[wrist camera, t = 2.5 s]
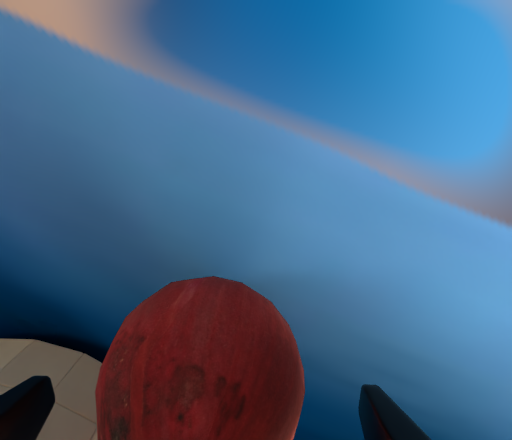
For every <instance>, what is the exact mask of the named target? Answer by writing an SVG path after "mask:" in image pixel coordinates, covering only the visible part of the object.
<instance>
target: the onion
mask: <svg viewBox="0 0 512 440" xmlns="http://www.w3.org/2000/svg"><path fill="white" fill-rule="evenodd" d="M304 394H305V385H304V370H303V366H302V362H301V359H300V355H299V351H298V347H297V344H296V340H295V338H294V336H293V333H292V331H291V329H290V326H289V324H288V323H287V322H286V320H285V319H284V318H283V317H282V315H281V314H280V313H279V311H278V310H277V309H276V307H275V306H274V305H273V304H272V302H271V301H269V300H268V299H266V298H265V297H264V296H262V295H261V294H259V293H257V292H256V291H254V290H253V289H251V288H250V287H248V286H246V285H245V284H243V283H241V282H237V281H233V280H228V279H224V278H219V277H215V276H212V277H204V278H196V279H189V280H182V281H176V282H171V283H169V284H168V285H166V286H165V287H163V288H162V289H160V290H159V291H157V292H156V293H154V294H153V295H151V296H150V297H149V298H147V299H146V300H144V301H143V302H142V303H140V304H139V305H138V306H137V307H136V308H135V309H134V310H133V311H132V312H131V313H130V314H129V315H128V316H126V318H125V319H124V321H123V323H122V325H121V327H120V328H119V330H118V332H117V334H116V336H115V337H114V339H113V341H112V344H111V346H110V348H109V350H108V352H107V354H106V357H105V359H104V361H103V363H102V365H101V367H100V372H99V376H98V381H97V385H96V390H95V398H96V413H97V439H98V440H293V438H294V435H295V431H296V428H297V424H298V421H299V417H300V413H301V409H302V404H303V399H304Z"/></svg>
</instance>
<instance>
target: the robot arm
mask: <svg viewBox="0 0 512 440" xmlns="http://www.w3.org/2000/svg"><path fill="white" fill-rule="evenodd" d="M54 404H55V393H54V389H53V385H52V382H51V378H50V377H49V376H39V375H36V376H32V377H30V378H28V379H27V380H25V381H23V382H22V383H20V384H18V385H17V386H15V387H13V388H12V389H10V390H8V391H7V392H5V393H3V394H2V395H0V440H36V439H37V437H38V435H39V433H40V431H41V429H42V428H43V426H44V424H45V422H46V420H47V418H48V416H49V414H50V412H51V410H52V409H53V406H54ZM359 416H360V421H361V425H362V430H363V434H364V439H365V440H431V439H430V438H429V437H428V436H427V435H426V434H425V433H424V432H423V431H422V430H421V429H420V428H419V427H418V426H417V425H416V424H415V422H414V421H413V420H412V419H411V418H410V417H409V416H408V415H407V414H406V413H405V412H404V411H403V410H402V409H401V408H400V407H399V406H398V405H397V404H396V403H395V402H394V401H393V400H392V399H391V398H390V397H389V396H388V395H387V394H386V393H385V392H384V391H383V390H382V389H381V388H380V387H379V386H377V385H367V384H364V385H362V387H361V393H360V400H359Z"/></svg>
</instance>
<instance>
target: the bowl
mask: <svg viewBox="0 0 512 440" xmlns="http://www.w3.org/2000/svg"><path fill="white" fill-rule="evenodd" d="M101 365H102V363H101V362H99V361H98V360H96V359H94V358H92V357H90V356H89V355H87V354H85V353H84V354H83V353H82V352H79V351H75V350H72V349H68V348H64V347H61V346H57V345H54V344H50V343H47V342H43V341H40V340H34V339H1V338H0V395H2V394H3V393H5V392H7V391H8V390H10V389H12V388H13V387H15V386H17V385H18V384H20V383H22V382H23V381H25V380H27V379H28V378H30V377H32V376H36V375H39V376H49V377H50V378H51V382H52V385H53V389H54V393H55V404H54V406H53V409H52V410H51V412H50V414H49V416H48V418H47V420H46V422H45V424H44V426H43V428H42V429H41V431H40V433H39V435H38V437H37V439H36V440H98V439H97V413H96V398H95V390H96V385H97V381H98V376H99V372H100V367H101Z"/></svg>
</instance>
